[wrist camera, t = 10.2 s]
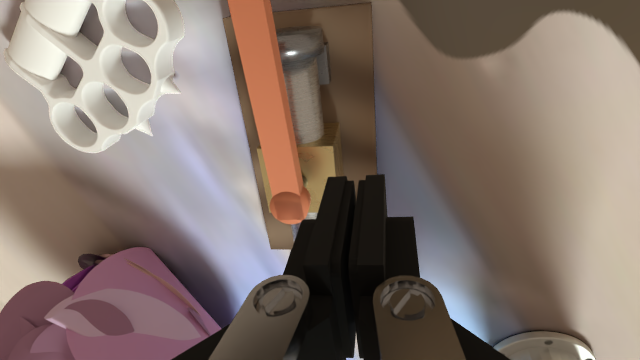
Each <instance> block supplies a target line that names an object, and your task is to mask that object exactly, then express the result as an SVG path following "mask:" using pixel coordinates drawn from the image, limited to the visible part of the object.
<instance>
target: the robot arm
mask: <svg viewBox="0 0 640 360" xmlns="http://www.w3.org/2000/svg"><path fill="white" fill-rule="evenodd" d="M356 335H357V343H358V350H359V357H360V358H364V360H596V358H595V356H594V354H593V353H592V351H591V350H590V348H589V347H588V346H587V345H586V344H584V343H583V342H582V341H580V340H578V339H576V338H574V337H572V336H569V335H566V334H562V333H557V332H548V331H536V332H527V333H521V334H518V335H515V336H511V337H509V338H507V339H505V340H503V341H501V342H500V343H498V344H496V345H495V346H494V347H492V346H490V345H489V344H487V343H486V342H484V341H483V340H481V339H480V338H478V337H477V336H476V335H474V334H473V333H471V332H470V331H468V330H467V329H465V328H464V327H462V326H461V325H460V324H458V323H457V322H455V321H454V320H452V319H451V318H450V316H449V314H448V311H447V308H446V306H445V303H444V300H443V298H442V296H441V294H440V292H439V291H438V289H437V288H436V287H435V286H434V285H433V284H431V283H430V282H428V281H426V280H424V279H422V278H420V273H419V264H418V255H417V246H416V237H415V228H414V219H413V217H387V205H386V189H385V175H384V174H380V175H366V179H365V180H359V183H358V191H357V199H356V194H355V185H354V180H353V181H348V180H347V176H337V177H328V178H327V182H326V185H325V189H324V192H323V196H322V199H321V203H320V206H319V210H318V213H317V217H316V219H304V220H302V222H301V224H300V227H299V230H298V232H297V235H296V238H295V241H294V244H293V247H292V250H291V253H290V256H289V259H288V262H287V265H286V268H285V271H284V273H283V275H278V276H274V277H270V278H268V279H266V280H264V281H262V282H261V283H259V284H258V285H256V286H255V287H254V288H253V290H252V291H251V292H250V293H249V295H248V297H247V298H246V300H245V301H244V303H243V305H242V306H241V308H240V309H239V311H238V313H237V314H236V316H235V317H234V319H233V321H232V322H231V324H229V325H227V326H226V327H224V328H222V329H221V330H219V331H217V332H216V333H214V334H212V335H211V336H209V337H207V338H206V339H204V340H203V341H201V342H199V343H198V344H196V345H194V346H193V347H191V348H189V349H188V350H186V351H184V352H183V353H181V354H179V355H178V356H176V357H174V358H173V359H171V360H346V358H353V357H354V348H355V336H356Z"/></svg>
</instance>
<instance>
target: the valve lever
mask: <svg viewBox="0 0 640 360" xmlns="http://www.w3.org/2000/svg"><path fill="white" fill-rule="evenodd" d="M227 1H228V5H229V9H230V14H231V18H232V22H233V27H234V31H235V35H236V40H237V44H238V49H239V53H240V57H241V62H242V66H243V70H244V75H245V79H246V83H247V88H248V92H249V97H250V101H251V105H252V110H253V114H254V118H255V123H256V127H257V131H258V136H259V140H260V144H261V149H262V153H263V158H264V162H265V166H266V171H267V175H268V179H269V184H270V188H271V192H272V199H271V201H270V211H271V213H272V215H273V216H274V217H275V218H276V219H277V220H279V221H280V222H282V223H285V224H297V223H300V222H302V220H304V219H305V218H306V216H307V214H308V210H309V207H310V204H311V195H310V193H309V191H308V190H307V189H306V188H305V187H304V185H303V180H302V174H301V169H300V163H299V157H298V152H297V146H296V141H295V135H294V130H293V124H292V119H291V113H290V108H289V102H288V96H287V91H286V85H285V80H284V74H283V69H282V63H281V58H280V52H279V47H278V41H277V35H276V30H275V24H274V19H273V13H272V8H271V2H270V0H227Z"/></svg>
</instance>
